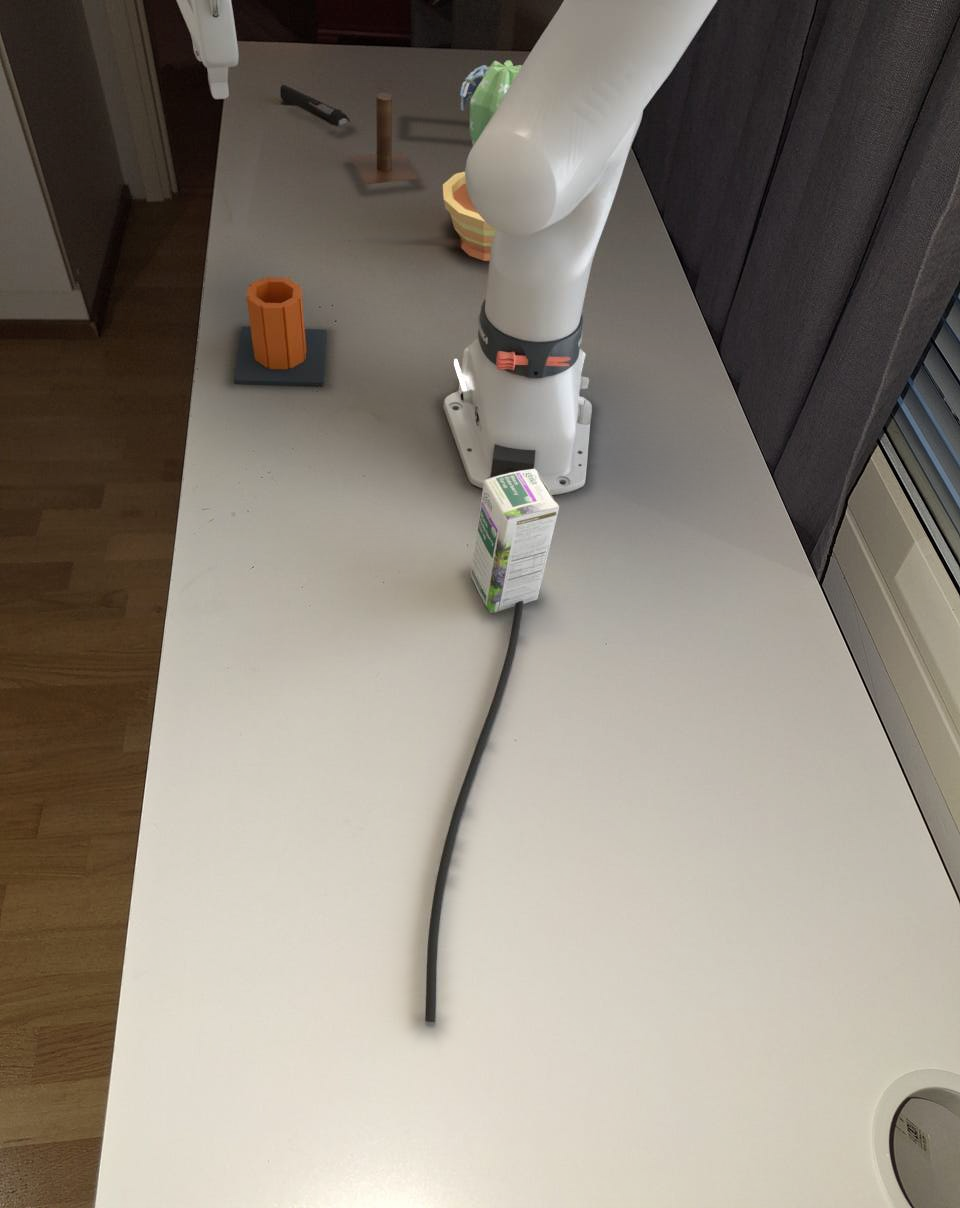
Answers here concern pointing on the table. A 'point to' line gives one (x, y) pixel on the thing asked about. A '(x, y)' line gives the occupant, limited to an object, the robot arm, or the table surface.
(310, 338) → the mat
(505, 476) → the syrup box
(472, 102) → the potted cactus
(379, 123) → the post
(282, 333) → the orange faceted tube
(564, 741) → the table surface
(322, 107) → the electric trimmer
